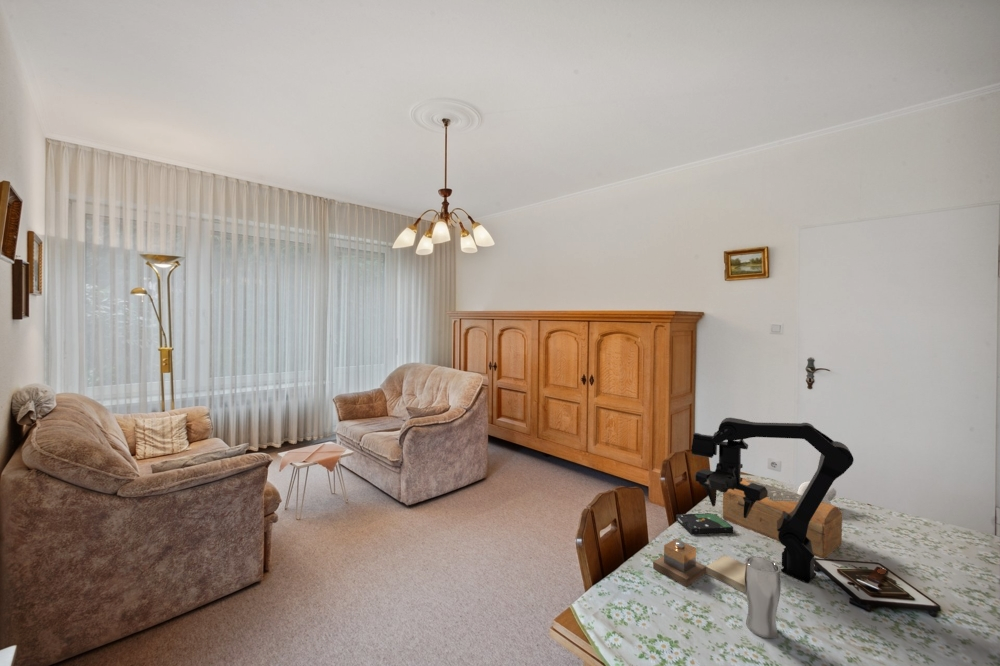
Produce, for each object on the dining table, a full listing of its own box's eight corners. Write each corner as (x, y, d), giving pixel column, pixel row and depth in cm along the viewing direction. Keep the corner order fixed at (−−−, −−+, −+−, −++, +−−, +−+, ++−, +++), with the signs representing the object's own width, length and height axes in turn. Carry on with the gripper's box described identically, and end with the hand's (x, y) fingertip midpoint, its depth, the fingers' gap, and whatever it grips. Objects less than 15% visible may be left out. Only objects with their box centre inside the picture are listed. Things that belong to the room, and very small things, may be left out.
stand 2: (761, 578, 110) (761, 571, 110) (744, 592, 105) (744, 585, 105) (723, 561, 119) (723, 554, 119) (706, 573, 113) (706, 566, 113)
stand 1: (706, 573, 113) (706, 566, 113) (686, 586, 107) (686, 579, 107) (673, 556, 121) (673, 550, 121) (653, 568, 115) (653, 561, 115)
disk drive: (691, 537, 133) (734, 534, 134) (691, 529, 133) (734, 526, 134) (675, 521, 144) (715, 519, 145) (675, 514, 144) (715, 512, 145)
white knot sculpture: (793, 508, 153) (794, 484, 153) (800, 498, 161) (801, 476, 161) (831, 518, 145) (832, 493, 145) (837, 508, 153) (837, 484, 153)
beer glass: (736, 618, 96) (737, 556, 95) (764, 616, 96) (765, 554, 96) (758, 641, 89) (759, 574, 88) (787, 639, 89) (788, 572, 89)
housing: (695, 565, 113) (695, 544, 113) (684, 573, 110) (684, 551, 110) (675, 555, 118) (675, 535, 118) (663, 562, 115) (664, 541, 114)
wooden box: (844, 544, 128) (845, 501, 128) (822, 560, 119) (823, 514, 119) (745, 508, 153) (746, 472, 153) (721, 519, 145) (722, 481, 144)
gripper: (685, 457, 125) (685, 507, 125) (750, 475, 109) (750, 532, 110) (704, 450, 131) (703, 498, 131) (768, 467, 116) (767, 521, 116)
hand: (729, 511), depth 122 cm, fingers open, 9 cm apart
